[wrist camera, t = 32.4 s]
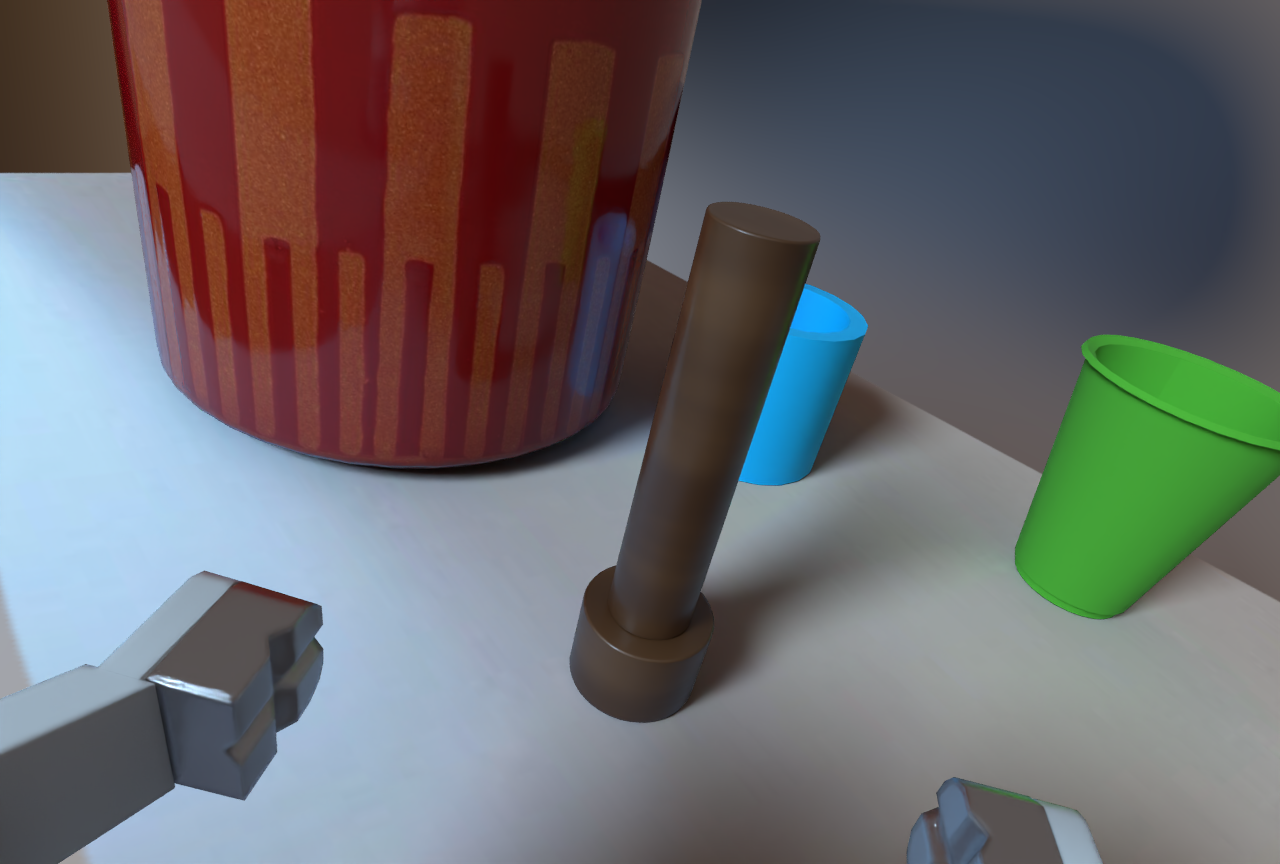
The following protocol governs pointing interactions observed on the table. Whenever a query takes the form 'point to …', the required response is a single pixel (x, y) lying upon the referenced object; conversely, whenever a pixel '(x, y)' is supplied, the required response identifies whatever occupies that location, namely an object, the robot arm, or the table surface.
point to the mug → (804, 389)
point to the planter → (399, 211)
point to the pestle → (692, 463)
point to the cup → (1143, 472)
